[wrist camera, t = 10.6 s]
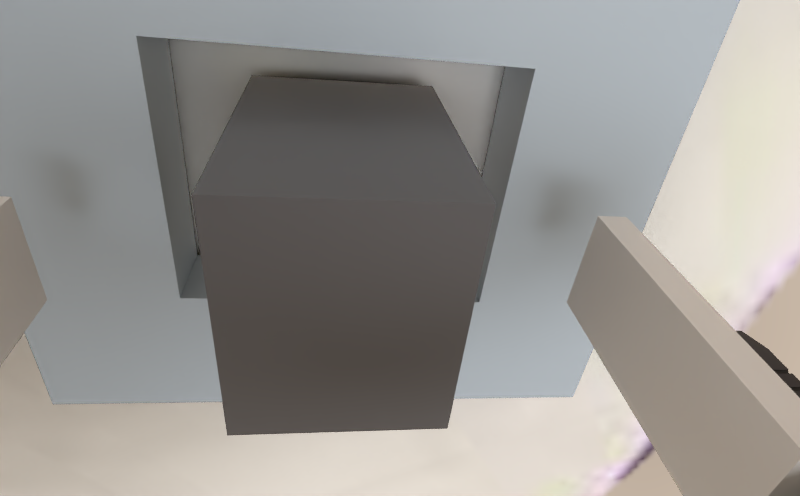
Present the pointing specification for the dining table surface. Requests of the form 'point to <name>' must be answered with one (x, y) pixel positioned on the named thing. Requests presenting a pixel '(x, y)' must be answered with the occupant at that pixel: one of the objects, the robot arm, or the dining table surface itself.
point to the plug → (340, 256)
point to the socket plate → (344, 33)
